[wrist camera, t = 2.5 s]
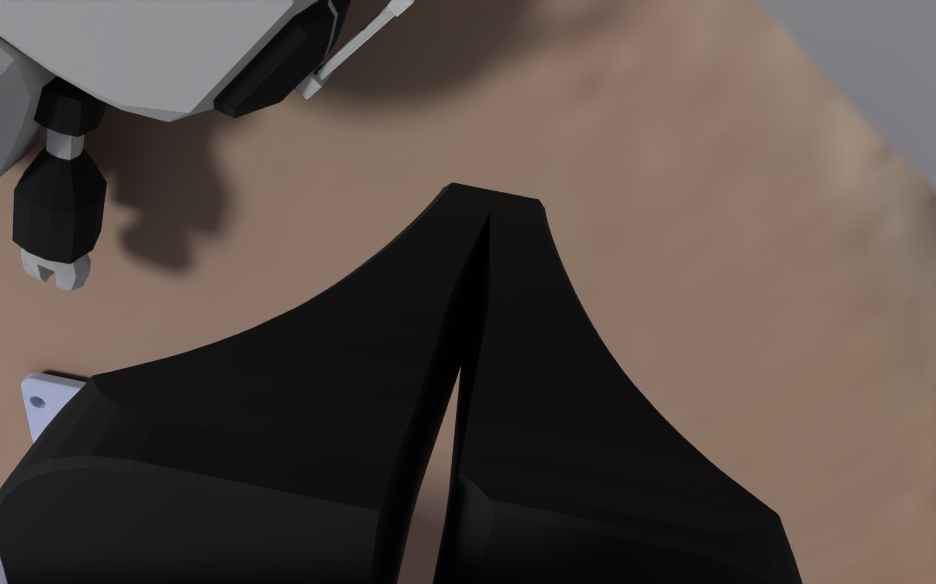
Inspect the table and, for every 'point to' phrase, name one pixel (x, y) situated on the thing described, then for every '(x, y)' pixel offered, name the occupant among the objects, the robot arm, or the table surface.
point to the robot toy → (139, 91)
